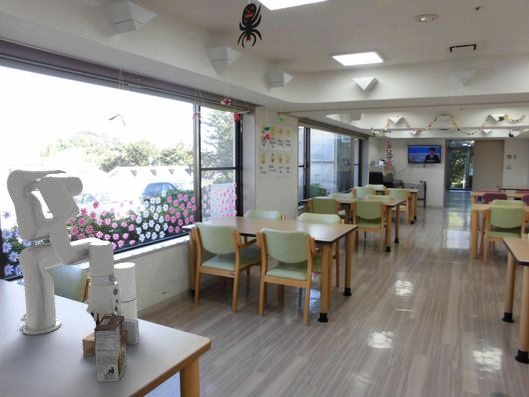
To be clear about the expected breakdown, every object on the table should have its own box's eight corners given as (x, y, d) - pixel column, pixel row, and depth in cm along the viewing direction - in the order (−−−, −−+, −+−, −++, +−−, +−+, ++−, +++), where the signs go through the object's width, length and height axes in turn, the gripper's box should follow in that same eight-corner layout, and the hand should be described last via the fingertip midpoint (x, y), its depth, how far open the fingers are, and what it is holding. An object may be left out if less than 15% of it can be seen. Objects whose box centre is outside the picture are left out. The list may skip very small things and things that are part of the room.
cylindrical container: (131, 336, 141) (128, 268, 138) (113, 335, 143) (109, 267, 140) (141, 328, 148) (138, 263, 145) (124, 326, 150) (120, 262, 147)
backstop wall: (96, 338, 140) (95, 317, 139) (100, 336, 142) (99, 314, 141) (135, 344, 135) (134, 322, 134) (139, 342, 137) (138, 320, 136)
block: (83, 353, 130) (82, 339, 129) (103, 340, 139) (103, 326, 139) (109, 358, 127) (108, 343, 126) (128, 343, 136) (127, 329, 136)
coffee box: (106, 365, 122) (103, 315, 121) (127, 364, 123) (125, 314, 121) (96, 382, 113) (93, 328, 112) (119, 381, 114) (116, 327, 112)
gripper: (131, 277, 131) (133, 330, 133) (89, 273, 136) (92, 324, 138) (116, 284, 124) (119, 340, 126) (73, 280, 129) (77, 334, 131)
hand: (105, 331), depth 132 cm, fingers closed on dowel, 3 cm apart
